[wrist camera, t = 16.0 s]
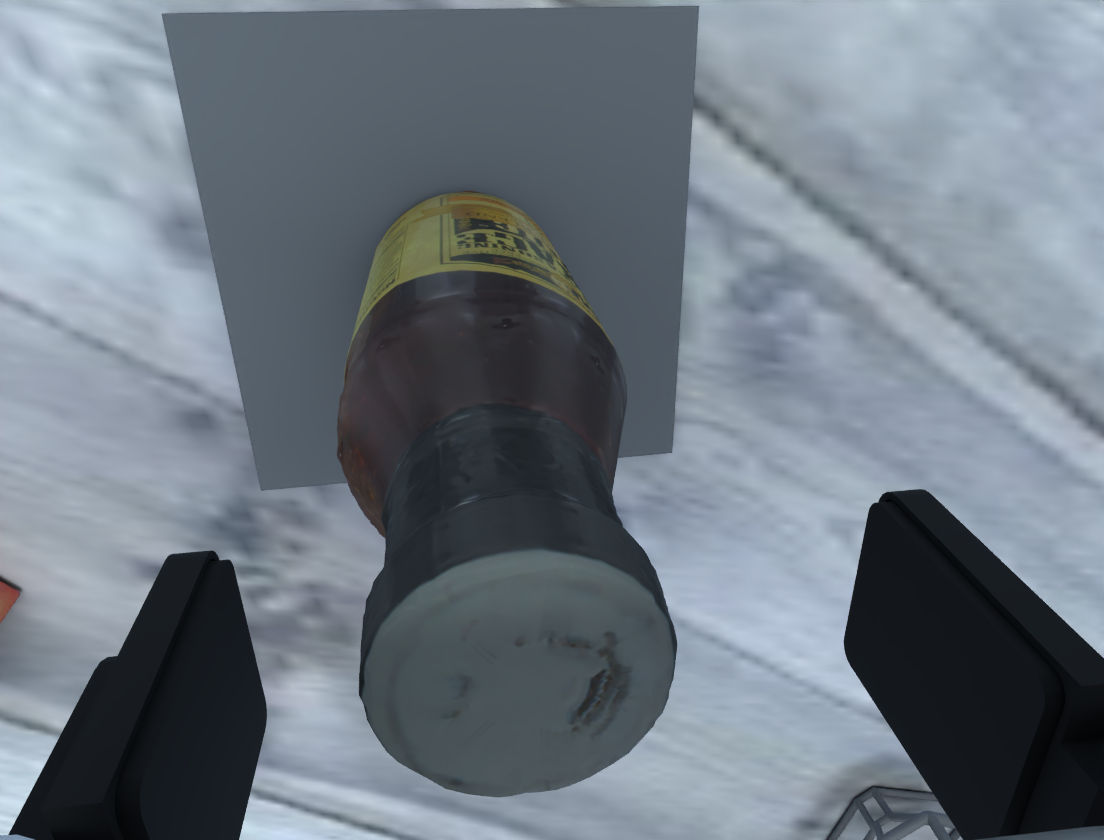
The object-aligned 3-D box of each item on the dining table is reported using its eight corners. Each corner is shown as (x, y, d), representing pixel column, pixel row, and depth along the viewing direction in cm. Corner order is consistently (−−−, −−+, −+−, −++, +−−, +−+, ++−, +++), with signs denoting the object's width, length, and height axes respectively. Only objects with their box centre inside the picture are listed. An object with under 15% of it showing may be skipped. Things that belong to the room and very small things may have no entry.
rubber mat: (693, 6, 26) (698, 6, 25) (668, 445, 33) (672, 452, 32) (167, 14, 23) (161, 13, 23) (263, 482, 31) (260, 490, 30)
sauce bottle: (587, 278, 28) (883, 692, 11) (458, 391, 29) (537, 931, 12) (461, 132, 26) (584, 375, 8) (323, 263, 27) (168, 726, 9)
